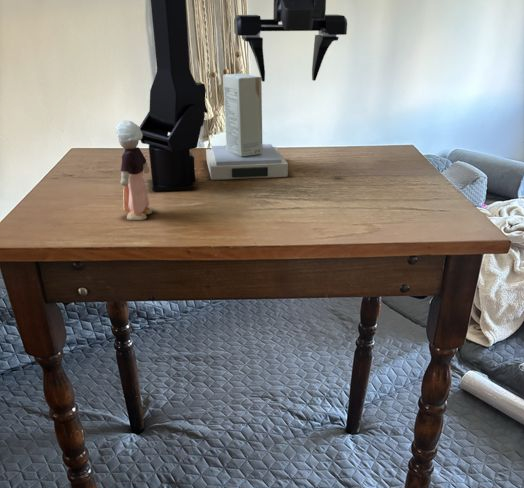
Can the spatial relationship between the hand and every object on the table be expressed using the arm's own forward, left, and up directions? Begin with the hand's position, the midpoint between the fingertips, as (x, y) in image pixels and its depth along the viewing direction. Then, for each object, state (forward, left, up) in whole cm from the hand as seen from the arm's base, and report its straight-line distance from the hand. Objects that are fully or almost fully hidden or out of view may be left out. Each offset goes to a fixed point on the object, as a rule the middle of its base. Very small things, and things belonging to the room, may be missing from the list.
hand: (288, 80), depth 100 cm
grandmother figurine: (-27, -30, -13) cm, 42 cm away
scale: (-9, -8, -13) cm, 18 cm away
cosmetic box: (-9, -8, -10) cm, 16 cm away
